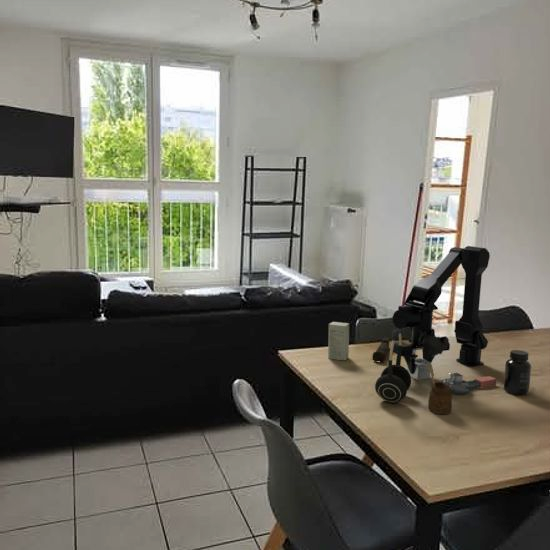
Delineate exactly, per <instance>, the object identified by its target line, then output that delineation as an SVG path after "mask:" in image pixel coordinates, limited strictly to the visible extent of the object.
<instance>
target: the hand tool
mask: <svg viewBox="0 0 550 550" xmlns="http://www.w3.org/2000/svg"><path fill="white" fill-rule="evenodd" d="M388 349H390V337H389V336H384V337H383V338H382V339H381V342H380V345H379V346H378V348H376V350H375V351H374V352H373V353H372V355H371V356H372V357H371V358H372V361H373V360H374V361H380V362H381V363H384V362H385V360H384V359H385V357H386V355H387V351H388V352H389V350H388ZM374 361H373V362H374Z"/></svg>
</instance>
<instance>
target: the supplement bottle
mask: <svg viewBox="0 0 550 550" xmlns="http://www.w3.org/2000/svg"><path fill="white" fill-rule="evenodd" d="M528 360H529V352H527V351H524V350H520V349H512V350H510V353H509V359H507V360H506V362H505V366H504V368H505V369H504V377H503V379H504V380H503V390H504V391H505V392H506V393H508V394H511V395H515V396H526V395H528V394H529V392H530V386H531V385H530V384H531V383H530V382H531V374H532V373H531V372H532V364H531V363H530V361H528Z"/></svg>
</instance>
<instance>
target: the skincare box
mask: <svg viewBox="0 0 550 550" xmlns="http://www.w3.org/2000/svg"><path fill="white" fill-rule="evenodd" d="M349 346H350V323H349V322H341V321H340V322H339V321H332V322H330V323H328V347H327V348H328V349H327V351H328V352H327V353H328V357H327V358H328V359H329V360H330V359H331V360H336V361H346V360H348V358H349V351H350V350H349V349H350V348H349Z"/></svg>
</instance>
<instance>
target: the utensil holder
mask: <svg viewBox="0 0 550 550" xmlns="http://www.w3.org/2000/svg"><path fill="white" fill-rule="evenodd" d="M430 371H431V373H430V378H431V379H432V384H431V385H430V391H429V393H428V402H427V403H428V405H427V406H428V410H429V411H430V412H432V413H433V414H437V415H448V414H450V413H451V412H452V407H453V406H452V405H453V404H452V403H453V394H452V393H451V391H452V389H451V386H450V385H449V384H447V383H443V381H435V374H434V369H433V364H432V363H431V365H430ZM452 373H453V372H446V374H445V375H449V376H448V377H447V378H450V376H451V375H452ZM444 379H446V376H444ZM444 379H443V380H444ZM451 380H454V379H451ZM444 381H445V382H446V380H444ZM451 383H453V382H451Z"/></svg>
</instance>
